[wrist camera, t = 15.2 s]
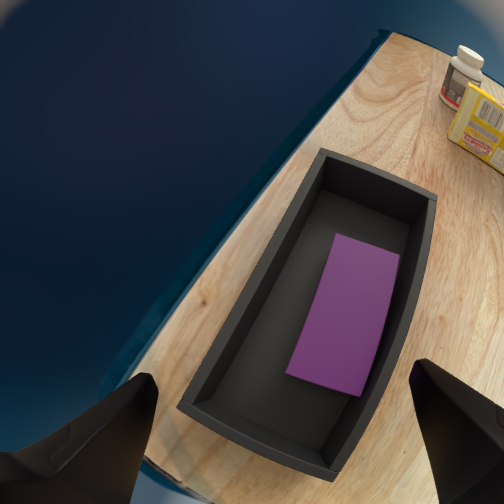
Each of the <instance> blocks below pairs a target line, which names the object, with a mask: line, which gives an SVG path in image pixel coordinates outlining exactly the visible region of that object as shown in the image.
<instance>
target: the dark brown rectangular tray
mask: <svg viewBox="0 0 504 504" xmlns="http://www.w3.org/2000/svg"><path fill="white" fill-rule="evenodd" d="M436 202H437V195H436V194H434V193H432V192H430V191H428V190H426V189H423V188H421V187H419V186H417V185H415V184H413V183H411V182H409V181H406V180H404V179H402V178H400V177H397V176H395V175H393V174H390V173H388V172H386V171H383V170H381V169H378V168H376V167H374V166H371V165H369V164H366V163H363V162H361V161H358V160H355V159H353V158H350V157H347V156H345V155H342V154H339V153H336V152H333V151H330V150H327V149H324V148H320V150H319V152H318V154H317V155H316V157H315V159H314V161H313V163H312V165H311V167H310V168H309V170H308V172H307V174H306V176H305V178H304V180H303V181H302V183H301V185H300V187H299V189H298V191H297V192H296V194H295V196H294V198H293V200H292V202H291V203H290V205H289V207H288V209H287V211H286V213H285V214H284V216H283V218H282V220H281V222H280V224H279V225H278V227H277V229H276V231H275V233H274V234H273V236H272V238H271V240H270V242H269V244H268V245H267V247H266V249H265V251H264V253H263V254H262V256H261V258H260V260H259V262H258V263H257V265H256V267H255V269H254V271H253V272H252V274H251V276H250V278H249V280H248V281H247V283H246V285H245V287H244V289H243V290H242V292H241V294H240V296H239V297H238V299H237V301H236V303H235V305H234V306H233V308H232V310H231V312H230V313H229V315H228V317H227V319H226V321H225V322H224V324H223V326H222V328H221V329H220V331H219V333H218V335H217V337H216V338H215V340H214V342H213V344H212V345H211V347H210V349H209V351H208V352H207V354H206V356H205V358H204V359H203V361H202V363H201V365H200V366H199V368H198V370H197V372H196V373H195V375H194V377H193V379H192V380H191V382H190V384H189V386H188V387H187V389H186V391H185V393H184V394H183V396H182V399H181V400H180V402H179V403H178V405H177V407H176V408H177V409H178V410H180V411H181V412H183V413H184V414H186V415H188V416H189V417H191V418H192V419H194V420H196V421H197V422H199V423H201V424H202V425H204V426H206V427H207V428H209V429H211V430H212V431H214V432H216V433H218V434H220V435H221V436H223V437H225V438H227V439H229V440H231V441H233V442H234V443H236V444H238V445H240V446H242V447H244V448H246V449H248V450H250V451H253V452H255V453H257V454H259V455H261V456H263V457H266V458H268V459H270V460H272V461H275V462H277V463H279V464H282V465H284V466H287V467H289V468H292V469H294V470H297V471H300V472H302V473H305V474H308V475H311V476H314V477H317V478H320V479H323V480H326V481H329V482H333V481H334V480H335V479H336V477H337V476H338V474H339V472H340V471H341V470H342V468H343V467H344V465H345V464H346V462H347V460H348V459H349V457H350V456H351V454H352V452H353V451H354V449H355V447H356V446H357V444H358V442H359V440H360V439H361V437H362V435H363V433H364V431H365V430H366V428H367V426H368V424H369V422H370V420H371V418H372V416H373V414H374V412H375V410H376V408H377V406H378V404H379V402H380V400H381V398H382V396H383V394H384V392H385V389H386V387H387V385H388V383H389V380H390V378H391V376H392V373H393V371H394V368H395V366H396V363H397V361H398V358H399V356H400V353H401V350H402V347H403V345H404V342H405V339H406V336H407V333H408V330H409V327H410V324H411V321H412V318H413V314H414V311H415V308H416V304H417V301H418V297H419V293H420V290H421V286H422V282H423V277H424V273H425V269H426V264H427V260H428V255H429V249H430V244H431V238H432V232H433V226H434V219H435V212H436ZM336 233H337V234H340V235H343V236H346V237H349V238H352V239H355V240H358V241H361V242H364V243H367V244H370V245H373V246H375V247H378V248H381V249H384V250H387V251H390V252H392V253H395V254H398V255H400V257H399V263H398V268H397V273H396V278H395V283H394V288H393V292H392V296H391V301H390V305H389V309H388V313H387V317H386V320H385V324H384V328H383V331H382V335H381V338H380V341H379V345H378V348H377V351H376V354H375V357H374V360H373V363H372V366H371V369H370V372H369V375H368V378H367V380H366V383H365V386H364V389H363V391H362V394H361V396H360V397H357V396H353V395H350V394H346V393H343V392H339V391H336V390H333V389H330V388H327V387H323V386H320V385H317V384H314V383H311V382H308V381H305V380H303V379H300V378H297V377H294V376H291V375H288V374H286V373H285V371H286V368H287V366H288V364H289V361H290V359H291V356H292V354H293V351H294V349H295V346H296V344H297V341H298V339H299V336H300V334H301V331H302V329H303V326H304V323H305V321H306V318H307V316H308V313H309V310H310V307H311V305H312V302H313V299H314V296H315V294H316V291H317V288H318V285H319V282H320V279H321V276H322V273H323V270H324V267H325V264H326V261H327V258H328V255H329V252H330V249H331V246H332V243H333V240H334V236H335V234H336Z"/></svg>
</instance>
